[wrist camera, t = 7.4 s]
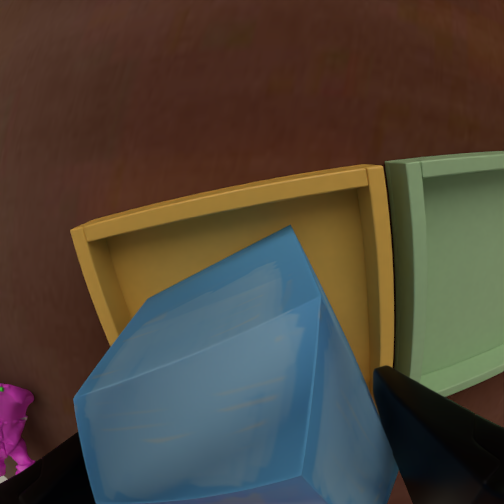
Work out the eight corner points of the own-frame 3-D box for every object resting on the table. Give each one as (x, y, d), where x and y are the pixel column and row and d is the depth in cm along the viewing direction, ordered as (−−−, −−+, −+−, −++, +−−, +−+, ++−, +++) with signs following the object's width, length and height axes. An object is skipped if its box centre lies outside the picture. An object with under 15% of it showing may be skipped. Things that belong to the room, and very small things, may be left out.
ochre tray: (364, 164, 11) (383, 165, 9) (378, 391, 14) (389, 416, 12) (92, 219, 12) (69, 229, 10) (168, 421, 15) (161, 447, 13)
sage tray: (548, 149, 10) (573, 151, 9) (536, 329, 13) (554, 343, 11) (384, 161, 11) (405, 162, 9) (392, 387, 14) (405, 411, 12)
